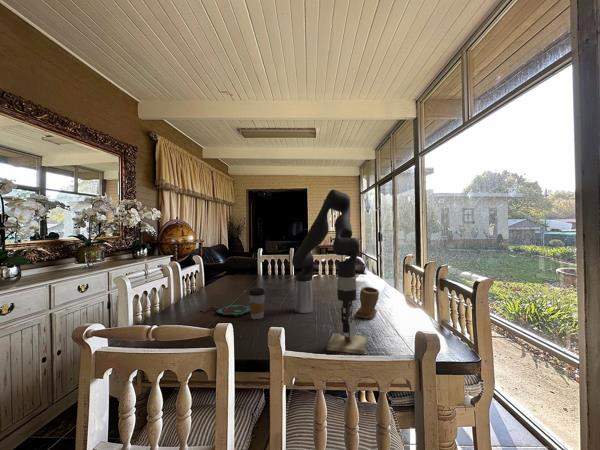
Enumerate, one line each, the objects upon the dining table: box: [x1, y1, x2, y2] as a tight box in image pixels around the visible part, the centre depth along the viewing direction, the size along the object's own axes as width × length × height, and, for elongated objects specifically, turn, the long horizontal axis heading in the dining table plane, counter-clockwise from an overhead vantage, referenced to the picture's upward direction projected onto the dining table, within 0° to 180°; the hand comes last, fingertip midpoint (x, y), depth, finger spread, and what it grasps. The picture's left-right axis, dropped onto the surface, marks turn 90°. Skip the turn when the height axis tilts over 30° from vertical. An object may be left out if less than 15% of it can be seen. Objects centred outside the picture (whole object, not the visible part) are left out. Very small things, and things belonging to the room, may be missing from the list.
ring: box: [338, 318, 356, 337], centre depth 115 cm, size 6×6×5 cm
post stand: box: [326, 317, 368, 355], centre depth 115 cm, size 14×14×10 cm
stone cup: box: [355, 286, 380, 319], centre depth 151 cm, size 15×12×15 cm
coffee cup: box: [248, 287, 266, 319], centre depth 150 cm, size 8×8×15 cm
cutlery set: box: [215, 304, 251, 317], centre depth 164 cm, size 20×30×2 cm, turn 66°
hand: (347, 329), depth 115 cm, fingers open, 6 cm apart
